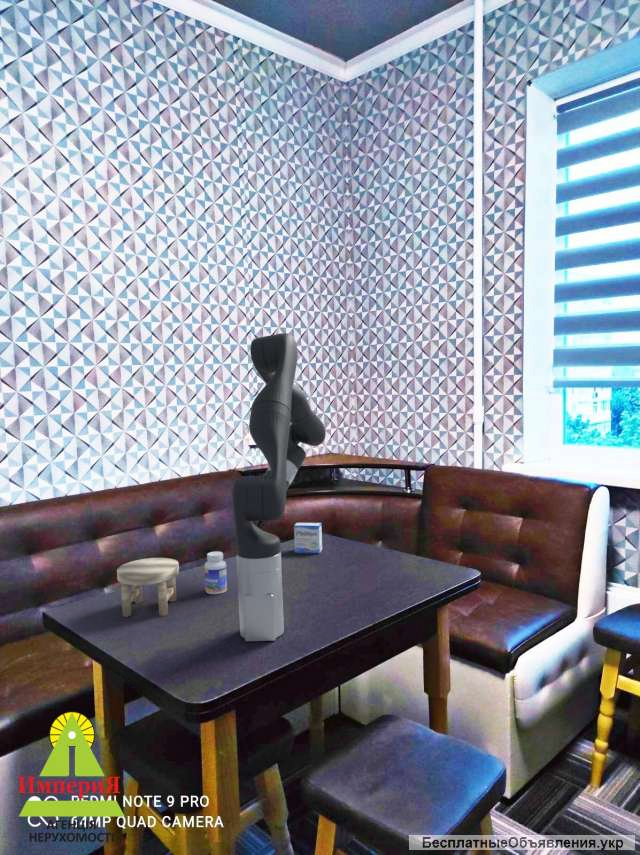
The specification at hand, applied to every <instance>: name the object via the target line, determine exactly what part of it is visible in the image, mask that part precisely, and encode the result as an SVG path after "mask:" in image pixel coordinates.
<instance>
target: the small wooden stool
mask: <svg viewBox="0 0 640 855" xmlns="http://www.w3.org/2000/svg"><path fill="white" fill-rule="evenodd" d="M179 565H180V563H179V561H178V560H177V559H174V558H169V557H168V558H167V557H148V558H141V559H137V560H132V561H130V562H129V561H128V562H126V563H124V564H121V565H119V566H118V568H117V569H116V576H117V577H116V579H117V582H119V583H120V594H121V597H120V598H121V608H122V609H121V612H122V617H123V616H124V617H123V618H129V617H131V616H132V615H133V612H132V603H134V602H135V603H134V604H140V603H139V602H141V601H142V602H143V593H142V592H143V590H142V586H147V585H154V584H156V585H157V596H158V598H157V600H158V615H159V617H160V616H161V617H163V616H164V617H165V616H167V615H169V606H168V605H169V604H168V601H169V603H174V601H175V602H177V584H176V580H177V579H176V577H177V576H178V575H179V573H180V567H179ZM131 586H132V590H131ZM142 602H141V603H142ZM128 616H129V617H128Z"/></svg>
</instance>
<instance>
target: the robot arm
mask: <svg viewBox="0 0 640 855" xmlns="http://www.w3.org/2000/svg"><path fill="white" fill-rule="evenodd" d="M249 352H250V358H251V362H252V364H253V367H254V368H255V370H256V372H257V373H258V375H259V376H260V377H261V379H262V380H263V382H264V383H265V385H264V386H263V388H262V389H261V390H260V391H259V393H258V394H257V395H256V397H255V398H254V400H253V402H252V405H251V408H250V416H249V423H248V430H249V434H250V436H251V438H252V440H253V442H254V444H255V445H256V446H257V448H258V449H259V450H260V452H261V453H262V455H263V456H264V458H265V459H266V462H267V464H268V468H267V470H266V471H265V472H264V474H263V475H253V476H252V475H249V476H248V475H247V476H246V475H244V476H239V477H237V478H235V480H234V481H233V484H232V489H231V501H232V502H231V503H232V504H231V505H232V514H233V524H234V536H235V537H234V538H235V548H236V549H235V550H236V569H237V570H236V571H237V572H236V573H237V592H238V594H237V595H238V614H239V634H240V637H241V638H243V639H244V641H245V642H264V641H265V642H267V641H269V642H270V641H271V642H272V641H276V640H277V638H278V637H280V636H281V635H282V634H284V631H285V624H284V620H285V618H284V602H283V601H284V600H283V599H284V598H283V597H284V596H283V576H282V574H283V573H282V549H281V548H282V545H281V543H282V542H281V540H280V538H279V536H277V535H276V534H273V533H270V532H268V531H265V530H263V529H264V528H265V527H266V525H267V523H268V522H271V521H279V520H280V519H282V518H283V516H284V514H285V510H286V504H287V491H288V489H289V488H290V486H291V484H292V483H293V481H294V479H295V477H296V475H297V473H298V471H299V469H300V468H301V466H302V464H303V462H304V461H305V459H306V457H307V453H306V450H304V448H302V447H301V446H300V445H299V444H300V443H301V444H305V445H307V446H310V447H311V446H312V447H318V446H320V445H322V444H323V442H324V441H325V439H326V435H327V434H326V432H327V431H326V427H325V425H324V422H323V421H322V420H321V419H320V417H319V416H318V415H317V413H316V412H314V410H312V409H311V406H310V404H309V401H308V398H307V397H306V394H305V393H304V392H303V391H302V389H300V387H298V386H297V385H296V384H294V381H295V375H296V370H297V364H298V345H297V342H296V339H295V337H294V336H293V334H290V333H287V332H286V333H285V332H281V333H276V334H271V335H264V336H261V337H257V338H254V339H253V340H252V341H251V344H250V350H249ZM254 522H256V523H254Z"/></svg>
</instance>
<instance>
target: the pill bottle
mask: <svg viewBox="0 0 640 855" xmlns="http://www.w3.org/2000/svg"><path fill="white" fill-rule="evenodd" d="M223 559H224V553H223V552H222V551H218V550H217V551H210V552H208V553H206V560H207V561H206V562H205V563H204V584H205V585H204V586H205V589H204V590H205V592H206V593H207V594H209V595H219V594H223V593H225V592H226V591H227V589H228V582H227V577H228V576H227V563H226V561H225V560H223Z"/></svg>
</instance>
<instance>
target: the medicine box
mask: <svg viewBox="0 0 640 855" xmlns="http://www.w3.org/2000/svg"><path fill="white" fill-rule="evenodd" d="M293 530H294V531H293V532H294V533H293V534H294V535H293V536H294V537H293V538H294V553H295V554H321V552H322V550H323V534H322V533H323V532H322V531H323V530H322V522H296V523H295V524H294V526H293Z"/></svg>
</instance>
